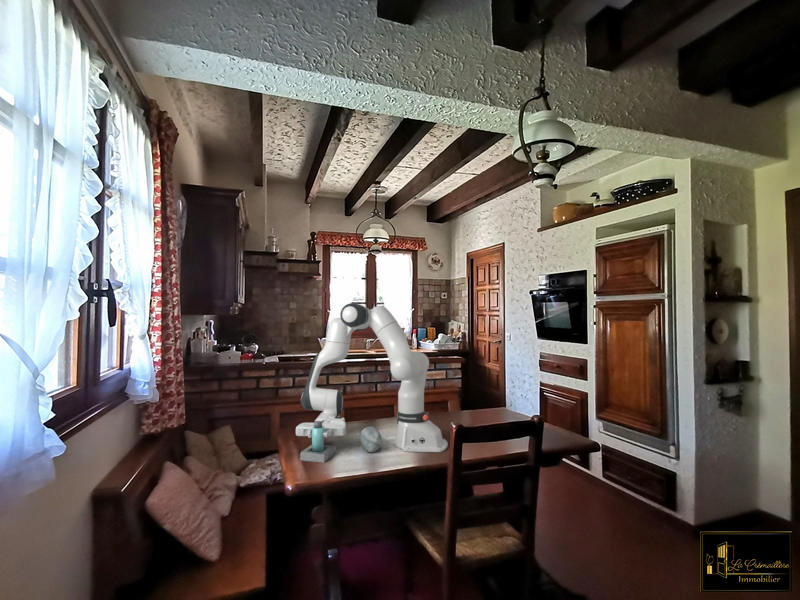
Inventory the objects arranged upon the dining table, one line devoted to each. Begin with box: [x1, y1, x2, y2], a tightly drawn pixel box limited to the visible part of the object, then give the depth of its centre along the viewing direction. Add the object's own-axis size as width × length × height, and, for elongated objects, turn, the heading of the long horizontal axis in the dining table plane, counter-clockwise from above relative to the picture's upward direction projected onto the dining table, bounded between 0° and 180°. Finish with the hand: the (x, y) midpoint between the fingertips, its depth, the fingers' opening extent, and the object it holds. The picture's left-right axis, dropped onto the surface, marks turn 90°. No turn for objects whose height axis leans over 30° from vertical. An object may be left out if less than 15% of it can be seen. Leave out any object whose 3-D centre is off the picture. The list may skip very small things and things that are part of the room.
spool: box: [359, 426, 383, 453], centre depth 163 cm, size 14×10×10 cm
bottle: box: [311, 420, 325, 452], centre depth 154 cm, size 4×4×11 cm
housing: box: [299, 444, 336, 463], centre depth 153 cm, size 10×10×3 cm
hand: (317, 435), depth 153 cm, fingers closed on bottle, 4 cm apart
